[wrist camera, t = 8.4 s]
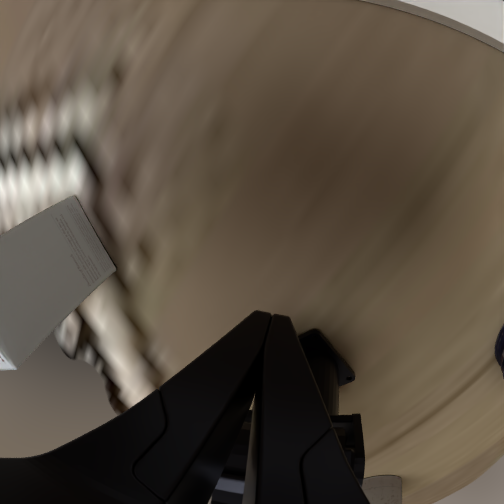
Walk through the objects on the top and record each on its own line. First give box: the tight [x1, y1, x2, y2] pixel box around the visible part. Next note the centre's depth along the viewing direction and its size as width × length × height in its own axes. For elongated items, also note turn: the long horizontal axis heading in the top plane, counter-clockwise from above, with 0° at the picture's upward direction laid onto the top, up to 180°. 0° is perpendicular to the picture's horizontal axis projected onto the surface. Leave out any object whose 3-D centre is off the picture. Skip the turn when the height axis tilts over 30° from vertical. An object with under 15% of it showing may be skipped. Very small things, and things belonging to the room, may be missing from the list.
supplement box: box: [0, 196, 116, 370], centre depth 18 cm, size 7×7×13 cm
